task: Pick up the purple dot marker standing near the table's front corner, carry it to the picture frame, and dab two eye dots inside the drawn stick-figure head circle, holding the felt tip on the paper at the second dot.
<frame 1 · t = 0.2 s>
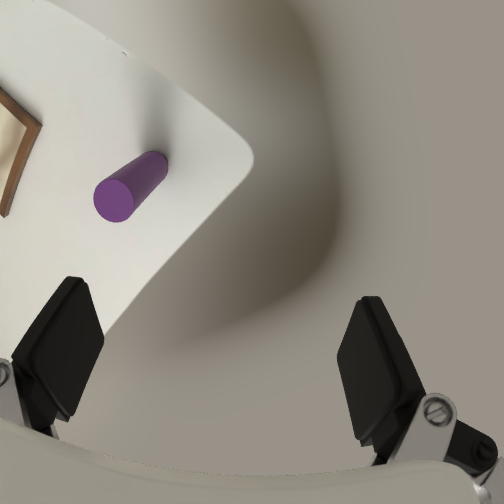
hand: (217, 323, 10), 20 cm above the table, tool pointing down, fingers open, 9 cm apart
marker: (155, 165, 27), on the table
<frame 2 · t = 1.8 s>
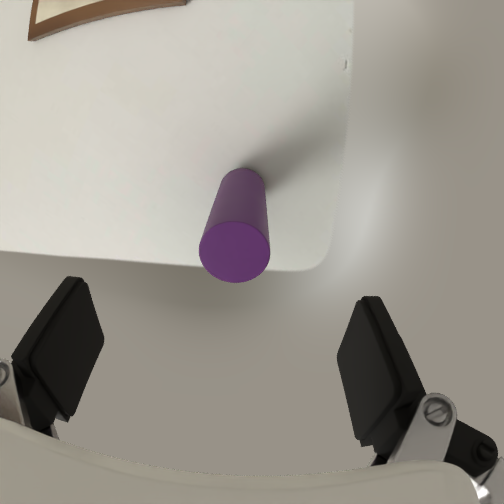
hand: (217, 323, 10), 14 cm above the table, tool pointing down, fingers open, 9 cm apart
marker: (242, 185, 22), on the table
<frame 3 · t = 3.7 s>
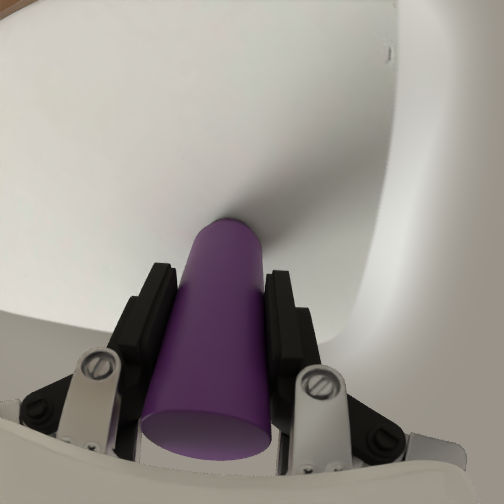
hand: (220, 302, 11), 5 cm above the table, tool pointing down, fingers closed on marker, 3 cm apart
marker: (228, 242, 15), on the table, touching gripper
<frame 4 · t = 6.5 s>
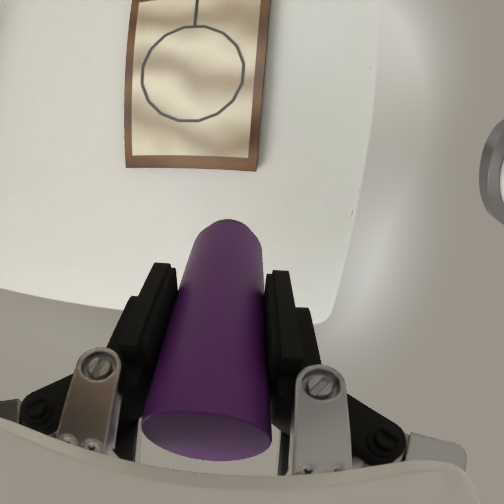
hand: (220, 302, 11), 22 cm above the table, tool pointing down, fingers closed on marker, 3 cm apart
marker: (228, 242, 15), point 18 cm above the table, touching gripper
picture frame: (193, 73, 25), on the table
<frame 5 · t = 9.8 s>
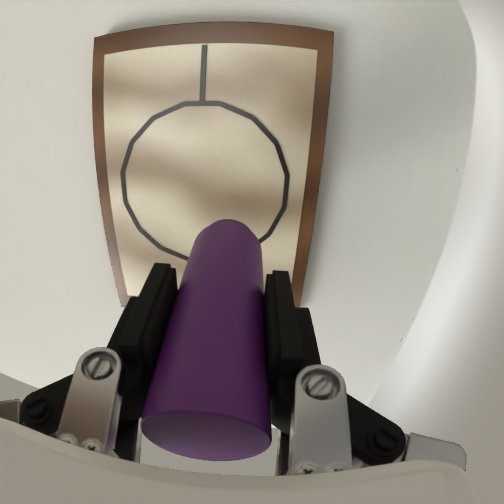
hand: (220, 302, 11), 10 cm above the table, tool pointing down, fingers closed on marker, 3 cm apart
marker: (228, 242, 15), point 5 cm above the table, touching gripper
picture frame: (203, 182, 18), on the table
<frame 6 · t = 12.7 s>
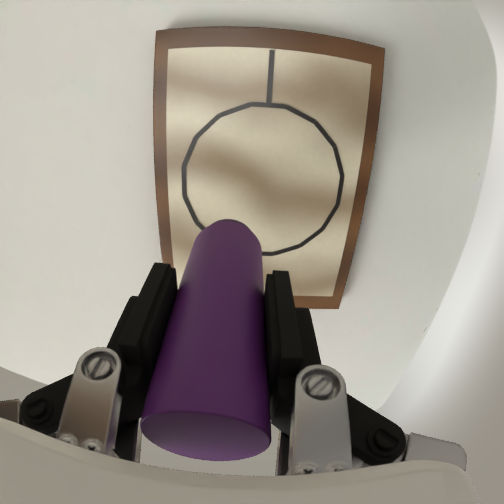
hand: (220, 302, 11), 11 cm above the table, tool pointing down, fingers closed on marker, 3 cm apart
marker: (228, 242, 15), point 6 cm above the table, touching gripper
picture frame: (262, 179, 19), on the table
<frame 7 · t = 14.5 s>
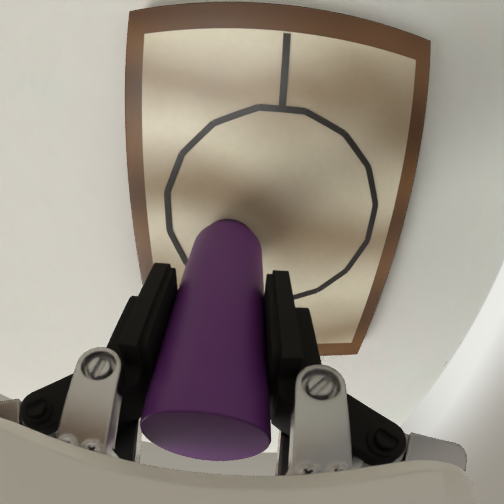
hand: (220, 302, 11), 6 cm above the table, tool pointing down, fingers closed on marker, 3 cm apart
marker: (228, 242, 15), point 1 cm above the table, touching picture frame, gripper
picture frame: (271, 207, 15), on the table
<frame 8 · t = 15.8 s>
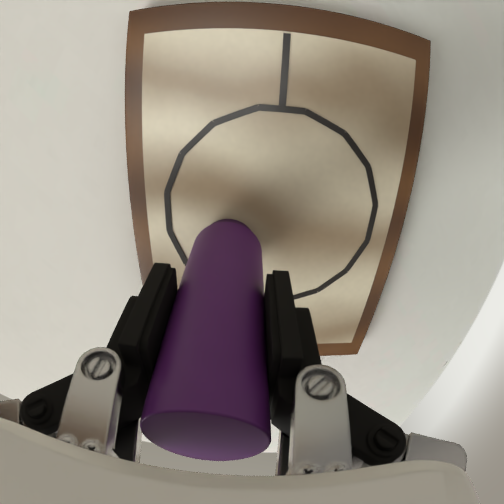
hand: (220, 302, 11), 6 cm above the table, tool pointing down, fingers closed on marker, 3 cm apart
marker: (228, 242, 15), point 1 cm above the table, touching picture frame, gripper
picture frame: (271, 207, 15), on the table
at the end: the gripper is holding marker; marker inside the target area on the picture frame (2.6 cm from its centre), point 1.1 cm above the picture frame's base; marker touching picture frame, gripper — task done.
